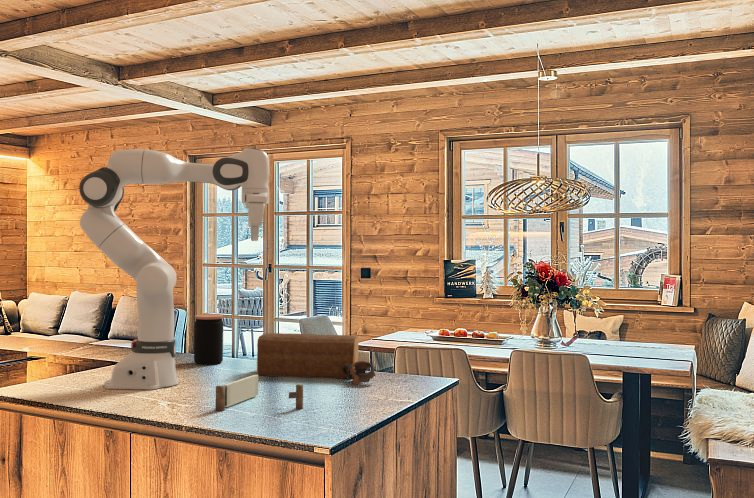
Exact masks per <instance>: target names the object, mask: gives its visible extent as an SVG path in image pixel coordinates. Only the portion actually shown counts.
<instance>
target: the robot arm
mask: <svg viewBox="0 0 754 498" xmlns="http://www.w3.org/2000/svg"><path fill="white" fill-rule="evenodd" d="M107 160H108V161H107V165H106V166H107V167H106V166H103V167H100V168H98V169H96V170H94V171H91V172H89V173H88V174H86V175H85V176H83V178H82V179H81V181H80V182H79V187H78V188H79V195H80V197H81V199H82V200H83V201H84V202H85V203H86V204H88V207H87V209H86V210H85V211H84V212H83V213H82V214H81V217H80V219H79V226H80V228H81V230H82V231H83V232H84V234H85V235H86V236H87V237H88V239H89V240H90V241H91V242H92V243H93V244H94V246H96V247H97V248H98V250H100V251H101V252H102V253H103V255H105V256H106V257H107V258H108V259H109V260H110V261H111V262H112V263H113V264H115V266H117V267H118V268H119V269H121V270H122V271H124V272H125V273H126V274H127V275H129V277H131V278H132V279H133V280H135V284H136V285H135V288H136V303H137V314H138V315H137V317H138V319H137V320H138V321H137V322H138V323H137V324H138V325H137V326H138V327H137V329H138V331H137V339H133V340H132V341H131V344H130V351H131V352H130V353H129V354H127V355H126V356H124V357H123V358H122V359H120V361H118V362H117V363H115V365H114V367H113V369H112V372H111V378H109V379H107V380H105V381H104V383H103V387H104V388H105V389H110V390H113V389H114V390H148V391H149V390H157V389H160V388H166V387H168V388H169V387H171V386H176V385H178V384H179V382H180V381H179V378H178V373H177V370H176V369H177V368H176V362H175V361H176V360H175V359H176V358H175V357H176V351H177V345H176V344H177V343H176V339H175V308H174V307H175V306H174V288H175V286H176V285H177V279H178V276H177V272H176V270H175V269H174V267H173V266H172V265H171V264H170V263H168V262H167V261H166V260H165V259H164V258H163V257H162V256H160V254H158V252H156V251H155V250H154V249H153V248H151V246H149V244H147V243H145V242H144V241H143V240H142V239H141V238H140V237H139V236H138V235H137V234H136V233H135V232H134V231H133V230H132V229H131V228H130V227H129V226H127V224H125V222H124V221H123V220H122V219H121V218H120V217H118V216H117V214H116V211H117V209H118V207H119V205H120V204H121V202H122V200H123V198H124V194H125V188H124V187H125V186H127V185H132V184H133V185H134V184H135V185H136V184H137V185H147V186H149V185H151V186H152V185H164V184H167V185H168V184H172V183H182V182H189V183H203V184H211V185H215V186H218V187H220V188H221V189H223V190H226V191H236V190H238V189H241V204H245V205H244V207H245V209H246V210H248V216H247V218H248V220H247V224H248V227H249V228H250V240H251V242H258V241H259V233H260V232H259V231H260V227H262V225H263V222H264V213H265V209H266V205H269V204H270V186H269V179H270V171H271V169H270V158H269V155H268V154H267V152H265V151H264V150H262V149H259V148H256V147H246V148H244V149H243V150H242V151H240V152H236V153H235V154H232V155H229V156H225V157H222V158H219V159H217V161H215V163H214V164H208V163H196V162H190V161H189V162H187V161H184V160H181V159H179V158H177V157H175V156H173V155H172V154H169V153H168V152H163V151H159V150H154V149H153V150H152V149H141V148H140V149H138V148H132V149H130V148H129V149H120V150H119V149H118V150H115V151H113V152H112V153H111V154H110V156H109V158H108V159H107Z"/></svg>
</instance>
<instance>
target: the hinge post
mask: <svg viewBox="0 0 754 498" xmlns="http://www.w3.org/2000/svg"><path fill="white" fill-rule="evenodd" d="M214 408H215V411H216V412H224V411H225V408H226V407H225V386H223V385H216V386H215V407H214Z"/></svg>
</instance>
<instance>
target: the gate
mask: <svg viewBox="0 0 754 498" xmlns="http://www.w3.org/2000/svg"><path fill="white" fill-rule="evenodd" d="M222 386H225V408H228V407H231V406H234V405H236V404H238V403H241V402H244V401H247V400H248V399H251V398H254V397H256V396H259V375H258V374H253V375H250V376H247V377H243V378H241V379H240V378H239V379H238V380H234V381H231V382H229V383H226V384H222Z"/></svg>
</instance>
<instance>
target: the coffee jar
mask: <svg viewBox="0 0 754 498" xmlns="http://www.w3.org/2000/svg"><path fill="white" fill-rule="evenodd" d="M223 319H224V315H223V314H216V313H215V314H213V313H212V314H211V313H209V314H208V313H207V314H206V313H205V314H195V315H194V321H195V322H194V332H193V333H194V334H193V335H194V336H193V337H194V343H193V361H194V363H195V365H200V366H215V365H216V366H217V365H220V364H222V363H223V360H224V320H223Z"/></svg>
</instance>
